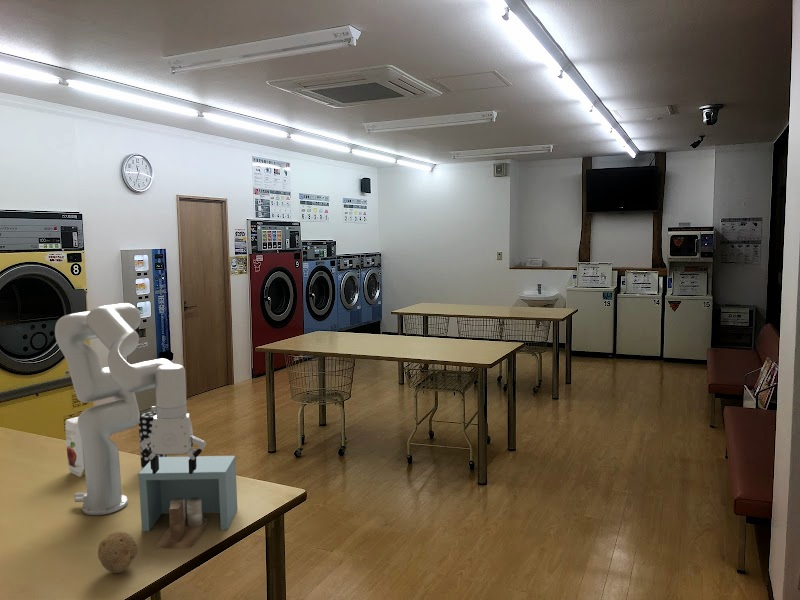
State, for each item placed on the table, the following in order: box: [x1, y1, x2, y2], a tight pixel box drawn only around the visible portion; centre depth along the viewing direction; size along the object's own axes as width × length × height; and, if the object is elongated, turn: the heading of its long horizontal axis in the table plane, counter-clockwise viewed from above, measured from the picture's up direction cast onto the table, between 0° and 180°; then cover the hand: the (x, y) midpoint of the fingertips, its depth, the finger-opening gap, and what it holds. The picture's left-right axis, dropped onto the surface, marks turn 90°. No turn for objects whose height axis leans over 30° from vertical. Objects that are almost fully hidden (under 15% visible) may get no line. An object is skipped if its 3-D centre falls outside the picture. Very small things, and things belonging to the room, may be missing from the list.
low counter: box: [138, 455, 238, 532], centre depth 181 cm, size 24×12×17 cm, turn 92°
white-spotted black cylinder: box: [138, 410, 167, 471], centre depth 218 cm, size 8×8×20 cm
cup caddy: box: [157, 498, 208, 549], centre depth 173 cm, size 9×14×11 cm, turn 1°
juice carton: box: [64, 416, 85, 478], centre depth 216 cm, size 8×9×19 cm
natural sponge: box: [97, 531, 139, 574], centre depth 156 cm, size 9×9×10 cm
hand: (173, 471), depth 169 cm, fingers open, 9 cm apart
